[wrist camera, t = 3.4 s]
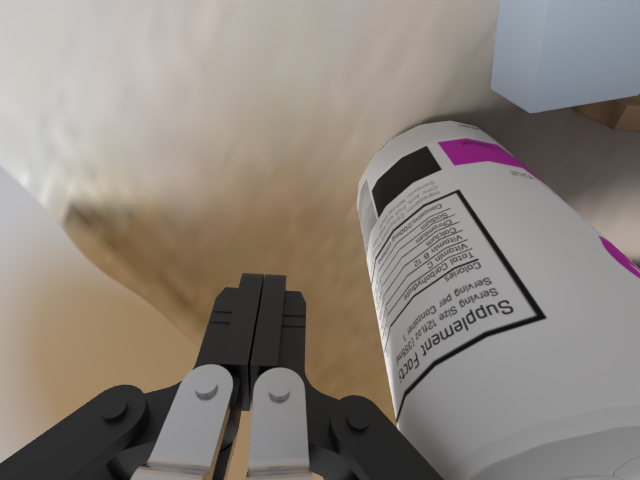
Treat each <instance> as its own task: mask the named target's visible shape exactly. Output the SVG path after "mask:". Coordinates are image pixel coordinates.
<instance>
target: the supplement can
mask: <svg viewBox="0 0 640 480" xmlns="http://www.w3.org/2000/svg"><path fill="white" fill-rule="evenodd" d="M357 209H358V215H359V220H360V226H361V231H362V237H363V242H364V248H365V253H366V258H367V264H368V269H369V275H370V280H371V286H372V291H373V297H374V302H375V308H376V313H377V318H378V324H379V329H380V335H381V340H382V346H383V351H384V357H385V362H386V368H387V373H388V378H389V384H390V389H391V395H392V400H393V406H394V411H395V417H396V422H397V428H398V430H399V431H400V432H401V433H402V434H403V435H404V436H405V438H406V439H407V440H408V441H409V442H410V443H411V444H412V445H413V446H414V447H415V448H416V450H417V451H418V452H419V453H420V454H421V455H422V456H423V457H424V458H425V459H426V460H427V462H428V463H429V464H430V465H431V466H432V467H433V468H434V469H435V470H436V471H437V473H438V474H439V475H440V476H441V477H442V478H443V479H444V480H640V269H639V268H638V267H637V266H636V265H635V264H634V263H633V262H632V261H630V260H629V259H628V258H627V257H626V256H625V255H624V254H623V253H622V252H620V251H619V250H618V249H617V248H616V247H615V246H614V245H613V244H611V243H610V242H609V241H608V240H607V239H606V238H605V237H604V236H603V235H601V234H600V233H599V232H598V231H597V230H596V229H595V228H594V227H592V226H591V225H590V224H589V223H588V222H587V221H586V220H585V219H584V218H582V217H581V216H580V215H579V214H578V213H577V212H576V211H575V210H573V209H572V208H571V207H570V206H569V205H568V204H567V203H566V202H565V201H563V200H562V199H561V198H560V197H559V196H558V195H557V194H556V193H554V192H553V191H552V190H551V189H550V188H549V187H548V186H547V185H546V184H544V183H543V182H542V181H541V180H540V179H539V178H538V177H537V176H535V175H534V174H533V173H532V172H531V171H530V170H529V169H528V168H527V167H525V166H524V165H523V164H522V163H521V162H520V161H519V160H518V159H516V158H515V157H514V156H513V155H512V154H511V153H510V152H509V151H508V150H506V149H505V148H504V147H503V146H502V145H501V144H500V143H499V142H497V141H496V140H495V139H493V138H492V137H491V136H489V135H488V134H487V133H485V132H484V131H482V130H481V129H480V128H478V127H477V126H473V125H468V124H464V123H459V122H454V121H450V120H449V121H442V122H436V123H429V124H422V125H418V126H416V127H414V128H412V129H410V130H408V131H406V132H404V133H402V134H400V135H398V136H396V137H394V138H392V139H391V140H390V141H389V142H388V143H387V144H386V145H385V146H384V147H383V148H382V149H381V150H380V151H379V152H378V153H377V154H376V155H375V156H373V157H372V158H371V160H370V162H369V164H368V166H367V168H366V170H365V172H364V174H363V176H362V178H361V180H360V181H359V188H358V198H357Z"/></svg>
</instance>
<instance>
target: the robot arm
mask: <svg viewBox="0 0 640 480" xmlns="http://www.w3.org/2000/svg"><path fill="white" fill-rule="evenodd" d="M305 327H306V302H305V300H304V298H303V296H302V294H301V292H298V291H286V276H284V275H268V274H266V275H265V280H264V274H251V273H243V274H242V277H241V281H240V285H239V288H230V287H226V288H225V289H224V290H223V291H222V292H221V293H220V294H219V295H218V296H217V298H216V300H215V303H214V306H213V310H212V313H211V316H210V319H209V324H208V326H207V329H206V332H205V335H204V339H203V342H202V345H201V348H200V352H199V355H198V358H197V362H196V364H195V367H194V368H193V370H192V371H191V372H189V373H188V374H187V375H186V376H185V378H184V379H183V380H182V381H181V382H179V383H177V384H176V385H173V386H171V387H168V388H165V389H161V390H157V391H153V392H149V393H145V394H144V393H143V392H142V391H141V390H140V389H139V388H137V387H135V386H132V385H119V386H115V387H112V388H109V389H108V390H105V391H104V392H102V393H100V394H99V395H98V396H96V397H95V398H93V399H92V400H90V401H89V402H87V403H86V404H85V405H83V406H82V407H80V408H79V409H78V410H76V411H75V412H73V413H72V414H70V415H69V416H67V417H66V418H65V419H63V420H62V421H60V422H59V423H57V424H56V425H55V426H53V427H52V428H50V429H49V430H47V431H46V432H45V433H43V434H42V435H40V436H39V437H37V438H36V439H35V440H33V441H32V442H31V443H29V444H27V445H26V446H25V447H23V448H22V449H20V450H19V451H17V452H16V453H15V454H13V455H12V456H10V457H9V458H7V459H6V460H5V461H3V462H2V463H0V480H227V477H228V472H229V468H230V464H231V460H232V456H233V452H234V448H235V444H236V439H237V432H238V428H239V422H240V416H241V411H249V410H250V405H251V402H252V419H251V433H250V448H249V463H248V472H247V477H246V480H313V479H312V472H314V473H316V474H318V475H320V476H323V479H324V480H444V479H443V478H442V477H441V476H440V475H439V474H438V473H437V471H436V470H435V469H434V468H433V467H432V466H431V465H430V464H429V463H428V462H427V460H426V459H425V458H424V457H423V456H422V455H421V454H420V453H419V452H418V451H417V450H416V448H415V447H414V446H413V445H412V444H411V443H410V442H409V441H408V440H407V439H406V438H405V436H404V435H403V434H402V433H401V432H400V431H399V430H398V429H397V428H396V427H395V425H394V424H393V423H392V422H391V421H390V420H389V419H388V418H387V417H386V416H385V415H384V413H383V412H382V411H381V410H380V409H379V408H378V407H377V406H376V405H375V404H374V403H373V402H372V401H370V400H369V399H367V398H365V397H362V396H357V395H351V396H347V397H344V398H342V399H340V400H338V399H335V398H332V397H330V396H327V395H325V394H322V393H320V392H319V391H317V390H316V389H315V388H314V387H312V385H311V384H310V383H309V381H308V380H307V377H306V375H305V368H304V366H305Z"/></svg>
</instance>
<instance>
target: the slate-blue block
mask: <svg viewBox="0 0 640 480" xmlns="http://www.w3.org/2000/svg"><path fill="white" fill-rule="evenodd" d="M491 89H492V90H493V91H495V92H496V93H498V94H500V95H501V96H503V97H504V98H506V99H508V100H509V101H511V102H512V103H514V104H516V105H517V106H519V107H520V108H522V109H523V110H525V111H527V112H528V113H530V114H531V113H537V112H543V111H549V110H555V109H561V108H566V107H572V106H578V105H584V104H590V103H596V102H601V101H607V100H613V99H619V98H625V97H631V96H637V95H639V93H640V0H500V1H499V11H498V20H497V30H496V40H495V50H494V59H493V69H492V79H491Z"/></svg>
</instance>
